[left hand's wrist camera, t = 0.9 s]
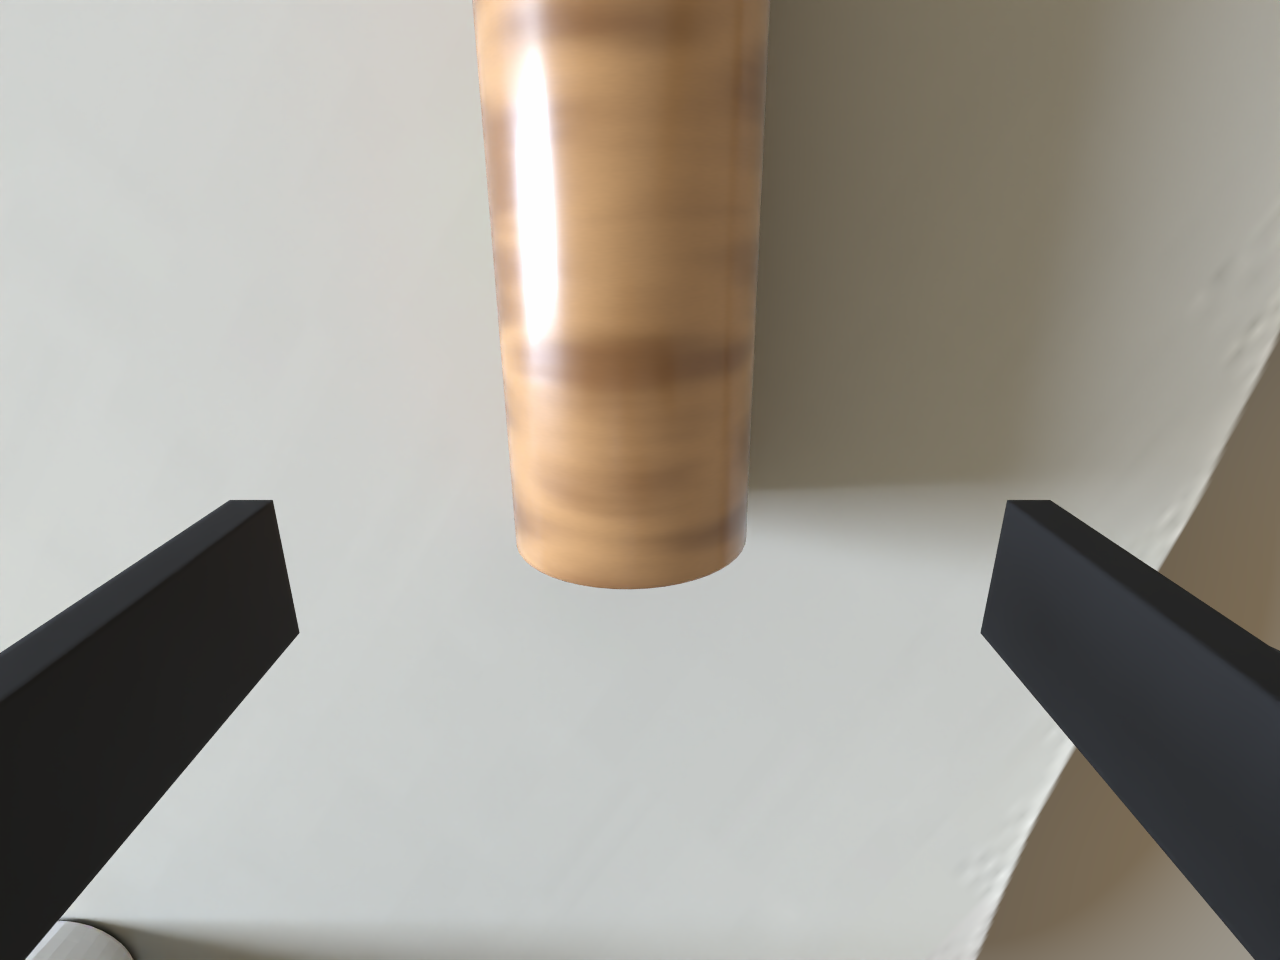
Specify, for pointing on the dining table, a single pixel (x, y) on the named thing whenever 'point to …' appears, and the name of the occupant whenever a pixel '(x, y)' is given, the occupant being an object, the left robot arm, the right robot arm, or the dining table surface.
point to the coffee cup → (78, 944)
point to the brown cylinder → (626, 276)
